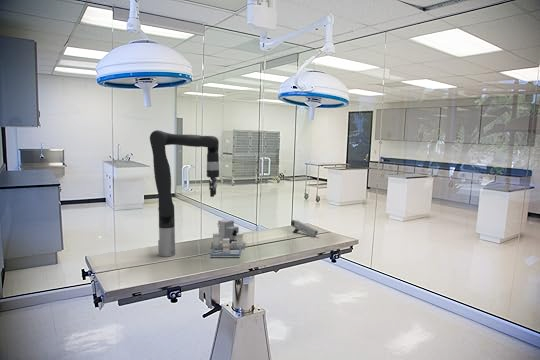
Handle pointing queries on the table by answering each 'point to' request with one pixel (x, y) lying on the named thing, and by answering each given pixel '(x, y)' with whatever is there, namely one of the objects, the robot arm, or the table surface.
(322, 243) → the table surface
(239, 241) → the right fuse
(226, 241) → the block
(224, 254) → the tray
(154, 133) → the robot arm
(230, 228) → the circuit breaker
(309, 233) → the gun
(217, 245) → the left fuse
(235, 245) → the fuse holder
